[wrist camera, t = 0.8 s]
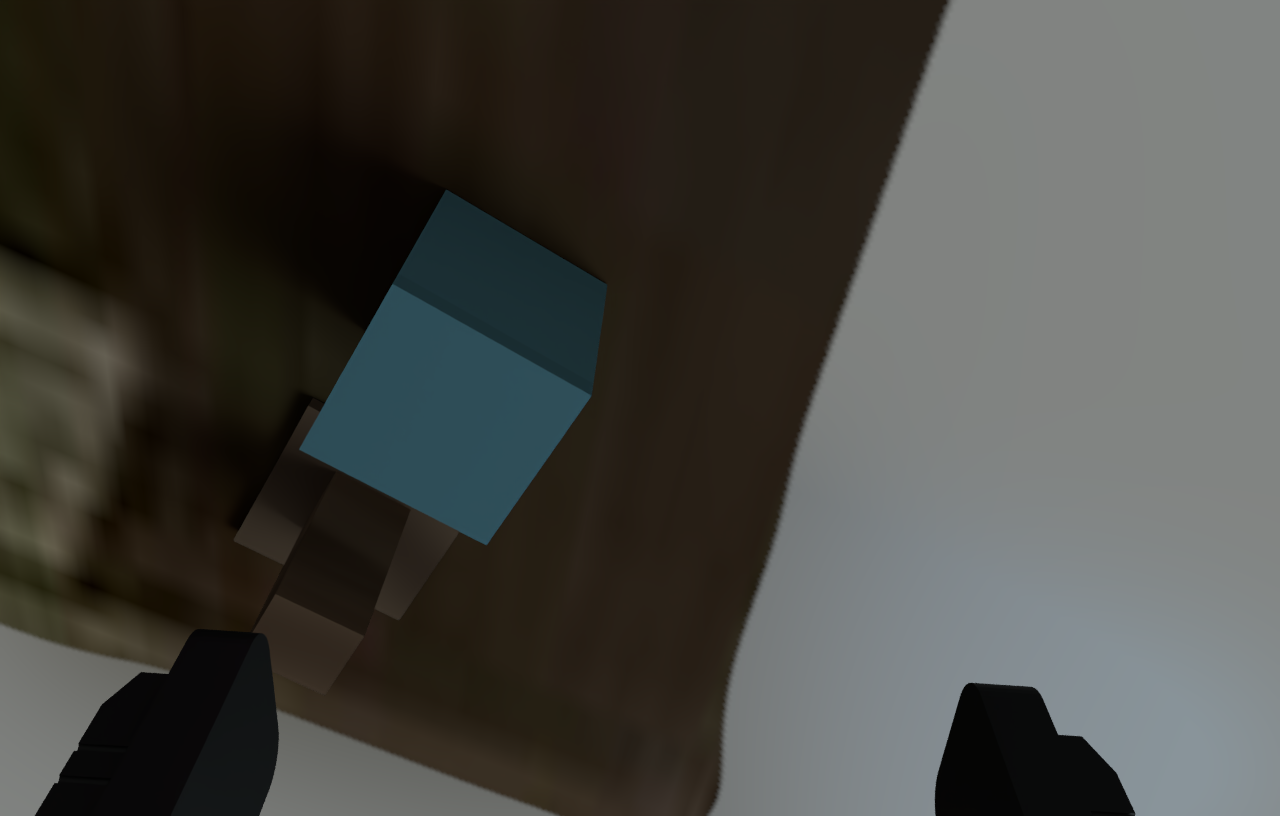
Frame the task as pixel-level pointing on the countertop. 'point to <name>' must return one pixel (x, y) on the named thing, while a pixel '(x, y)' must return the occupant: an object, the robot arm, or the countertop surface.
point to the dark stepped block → (333, 560)
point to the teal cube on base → (465, 372)
